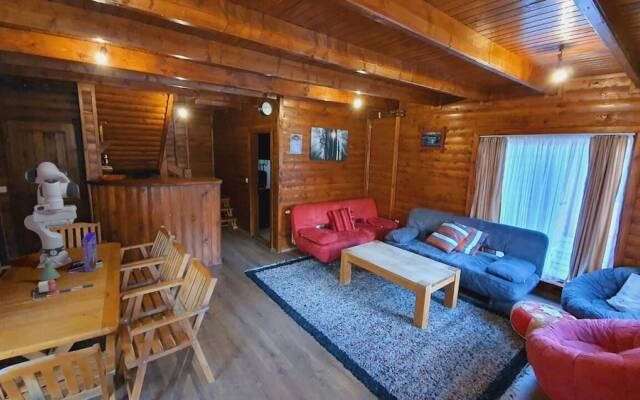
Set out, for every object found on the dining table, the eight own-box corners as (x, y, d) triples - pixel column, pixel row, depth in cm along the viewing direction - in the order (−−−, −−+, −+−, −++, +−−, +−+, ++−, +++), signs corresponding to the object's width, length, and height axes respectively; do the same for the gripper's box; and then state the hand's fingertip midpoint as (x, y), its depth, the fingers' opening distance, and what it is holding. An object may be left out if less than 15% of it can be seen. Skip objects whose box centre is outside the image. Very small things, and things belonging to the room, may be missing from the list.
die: (39, 289, 175) (38, 282, 174) (51, 287, 178) (50, 280, 178) (39, 293, 172) (38, 285, 171) (50, 290, 175) (49, 283, 174)
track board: (33, 297, 168) (33, 296, 168) (93, 284, 186) (93, 283, 186) (32, 300, 164) (32, 299, 164) (94, 287, 183) (94, 286, 182)
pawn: (48, 293, 172) (46, 279, 170) (57, 291, 174) (55, 277, 173) (48, 296, 169) (46, 281, 167) (57, 294, 171) (55, 280, 170)
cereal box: (93, 271, 204) (90, 239, 199) (85, 272, 201) (82, 239, 197) (98, 262, 218) (95, 231, 214) (90, 263, 216) (87, 232, 212)
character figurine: (29, 287, 178) (25, 259, 175) (33, 281, 185) (29, 255, 182) (63, 281, 187) (60, 255, 184) (65, 276, 194) (62, 251, 190)
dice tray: (34, 289, 175) (34, 287, 175) (56, 285, 182) (56, 283, 182) (33, 296, 168) (32, 294, 168) (56, 291, 175) (56, 289, 174)
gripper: (75, 203, 186) (77, 223, 189) (31, 206, 173) (34, 228, 175) (76, 205, 181) (78, 226, 184) (30, 208, 168) (33, 230, 170)
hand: (56, 227), depth 179 cm, fingers open, 8 cm apart
